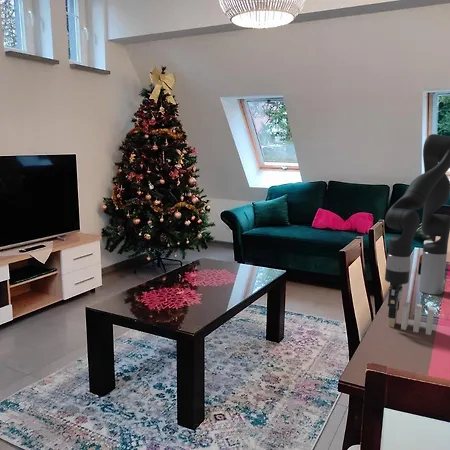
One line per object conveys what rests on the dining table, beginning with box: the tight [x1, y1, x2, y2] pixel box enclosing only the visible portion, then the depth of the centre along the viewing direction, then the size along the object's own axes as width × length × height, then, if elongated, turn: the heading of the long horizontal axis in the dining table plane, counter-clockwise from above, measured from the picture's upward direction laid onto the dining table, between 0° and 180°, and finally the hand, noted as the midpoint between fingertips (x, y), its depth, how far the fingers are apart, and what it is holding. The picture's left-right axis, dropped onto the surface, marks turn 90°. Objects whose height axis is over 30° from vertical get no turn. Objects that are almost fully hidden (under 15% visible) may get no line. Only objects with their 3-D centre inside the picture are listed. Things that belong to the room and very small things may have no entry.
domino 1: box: [388, 301, 398, 328], centre depth 154 cm, size 5×2×8 cm, turn 152°
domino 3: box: [412, 303, 423, 333], centre depth 150 cm, size 5×2×8 cm, turn 152°
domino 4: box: [425, 305, 435, 336], centre depth 149 cm, size 5×2×8 cm, turn 152°
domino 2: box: [400, 301, 411, 331], centre depth 152 cm, size 5×2×8 cm, turn 152°
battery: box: [417, 253, 423, 275], centre depth 220 cm, size 4×7×10 cm, turn 146°
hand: (393, 313), depth 154 cm, fingers open, 8 cm apart
